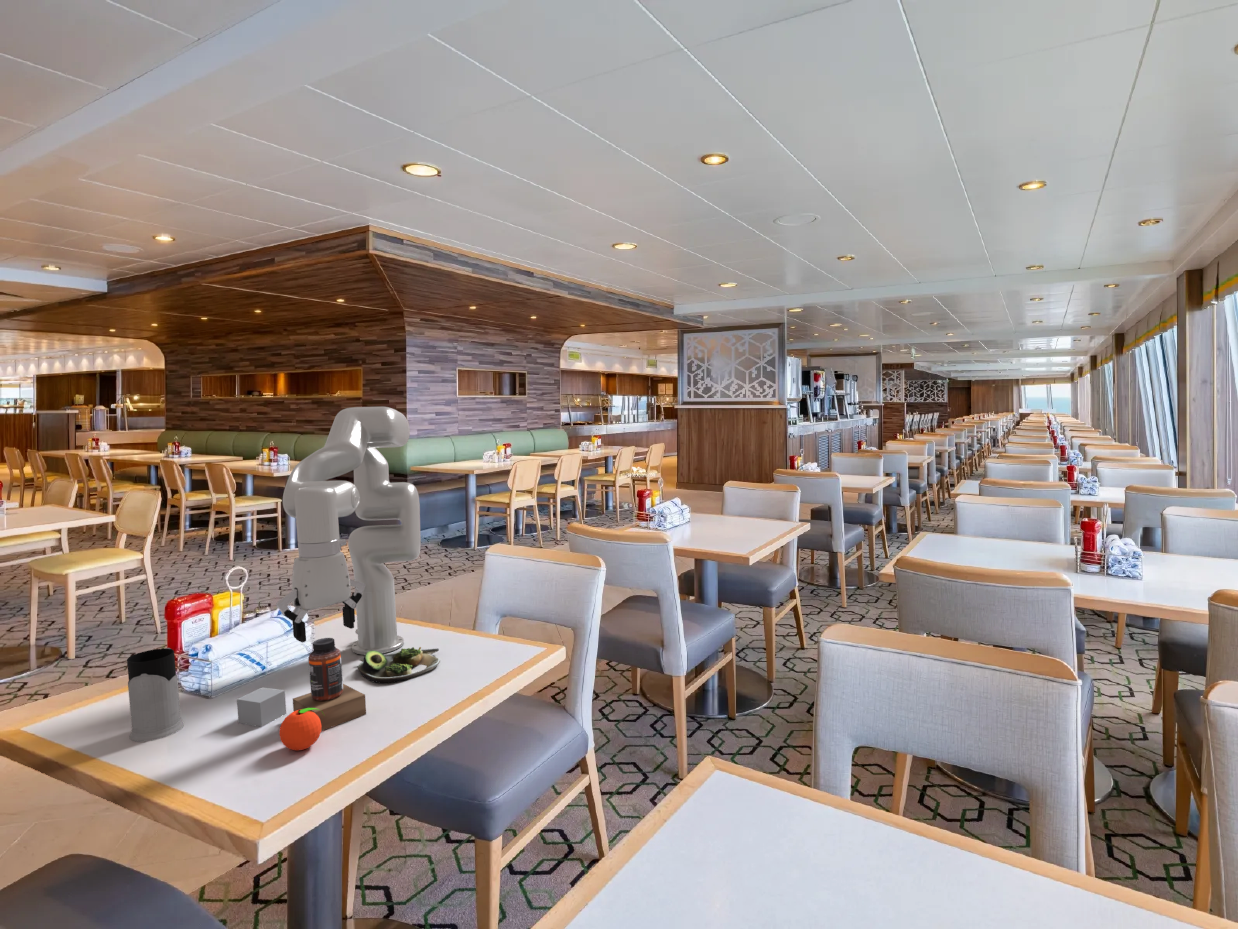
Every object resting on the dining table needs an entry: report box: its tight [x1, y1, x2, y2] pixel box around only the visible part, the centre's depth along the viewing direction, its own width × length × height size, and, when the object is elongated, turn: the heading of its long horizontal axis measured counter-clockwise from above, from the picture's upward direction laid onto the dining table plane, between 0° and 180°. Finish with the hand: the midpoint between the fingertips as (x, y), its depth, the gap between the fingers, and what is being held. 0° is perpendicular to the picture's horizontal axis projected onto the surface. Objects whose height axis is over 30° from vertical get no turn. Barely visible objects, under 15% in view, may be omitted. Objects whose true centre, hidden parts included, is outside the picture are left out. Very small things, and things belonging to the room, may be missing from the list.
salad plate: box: [357, 646, 441, 684], centre depth 162 cm, size 19×18×5 cm
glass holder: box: [126, 647, 185, 742], centre depth 134 cm, size 9×14×15 cm, turn 15°
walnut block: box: [292, 683, 367, 732], centre depth 136 cm, size 10×10×4 cm
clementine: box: [278, 708, 325, 751], centre depth 123 cm, size 8×7×7 cm
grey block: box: [236, 686, 287, 728], centre depth 135 cm, size 6×6×5 cm
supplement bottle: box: [308, 637, 344, 701], centre depth 135 cm, size 6×6×11 cm
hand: (325, 633), depth 135 cm, fingers open, 9 cm apart
